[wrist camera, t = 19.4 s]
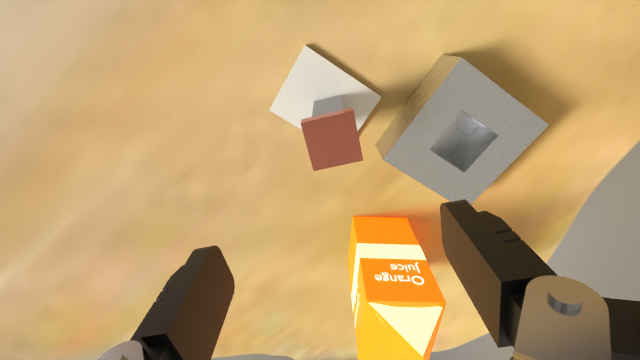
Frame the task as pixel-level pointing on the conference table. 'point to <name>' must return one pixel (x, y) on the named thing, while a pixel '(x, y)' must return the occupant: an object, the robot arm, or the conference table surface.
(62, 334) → the conference table surface
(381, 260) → the orange juice
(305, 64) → the pad
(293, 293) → the conference table surface
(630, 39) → the conference table surface
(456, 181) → the block
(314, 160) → the key
